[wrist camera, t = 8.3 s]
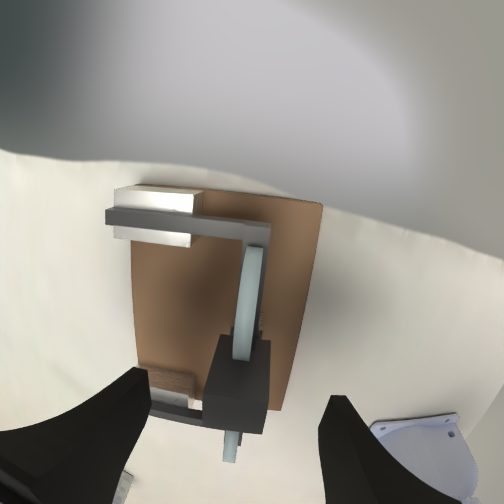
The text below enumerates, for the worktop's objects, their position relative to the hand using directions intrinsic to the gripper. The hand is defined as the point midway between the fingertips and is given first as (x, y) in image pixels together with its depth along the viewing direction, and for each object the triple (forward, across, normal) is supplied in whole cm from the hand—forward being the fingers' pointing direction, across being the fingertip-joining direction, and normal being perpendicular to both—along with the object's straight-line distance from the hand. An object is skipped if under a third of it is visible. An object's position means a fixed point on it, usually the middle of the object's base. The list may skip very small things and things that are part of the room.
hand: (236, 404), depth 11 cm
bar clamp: (+4, +3, 0) cm, 5 cm away
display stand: (+8, +2, 0) cm, 8 cm away
